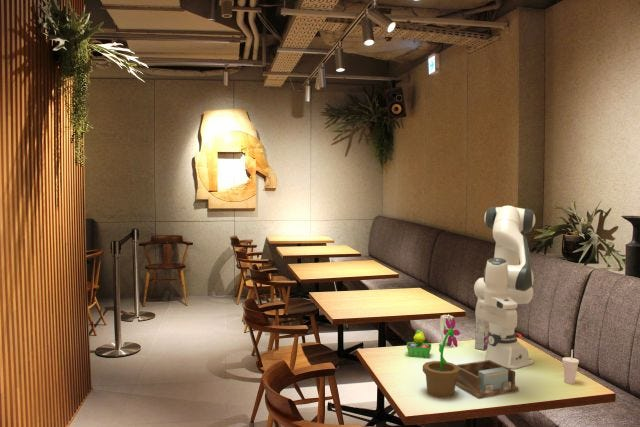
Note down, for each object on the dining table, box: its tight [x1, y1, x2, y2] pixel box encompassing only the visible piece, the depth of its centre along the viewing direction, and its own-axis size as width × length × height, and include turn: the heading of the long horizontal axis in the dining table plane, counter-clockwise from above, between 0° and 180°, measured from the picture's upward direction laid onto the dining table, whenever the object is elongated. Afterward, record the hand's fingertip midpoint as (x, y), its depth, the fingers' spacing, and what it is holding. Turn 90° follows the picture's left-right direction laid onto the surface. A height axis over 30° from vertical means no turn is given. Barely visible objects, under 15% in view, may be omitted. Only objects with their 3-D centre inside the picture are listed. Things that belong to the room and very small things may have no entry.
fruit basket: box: [406, 329, 433, 359], centre depth 263 cm, size 11×9×11 cm
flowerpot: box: [422, 317, 461, 398], centre depth 217 cm, size 14×14×30 cm
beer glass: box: [439, 314, 455, 349], centre depth 278 cm, size 7×7×15 cm
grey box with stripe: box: [478, 367, 508, 391], centre depth 219 cm, size 12×4×7 cm, turn 114°
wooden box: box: [455, 360, 520, 400], centre depth 224 cm, size 20×17×8 cm
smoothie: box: [561, 349, 580, 385], centre depth 230 cm, size 6×6×14 cm
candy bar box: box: [474, 316, 489, 351], centre depth 277 cm, size 11×5×16 cm, turn 148°
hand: (494, 334), depth 218 cm, fingers open, 8 cm apart
